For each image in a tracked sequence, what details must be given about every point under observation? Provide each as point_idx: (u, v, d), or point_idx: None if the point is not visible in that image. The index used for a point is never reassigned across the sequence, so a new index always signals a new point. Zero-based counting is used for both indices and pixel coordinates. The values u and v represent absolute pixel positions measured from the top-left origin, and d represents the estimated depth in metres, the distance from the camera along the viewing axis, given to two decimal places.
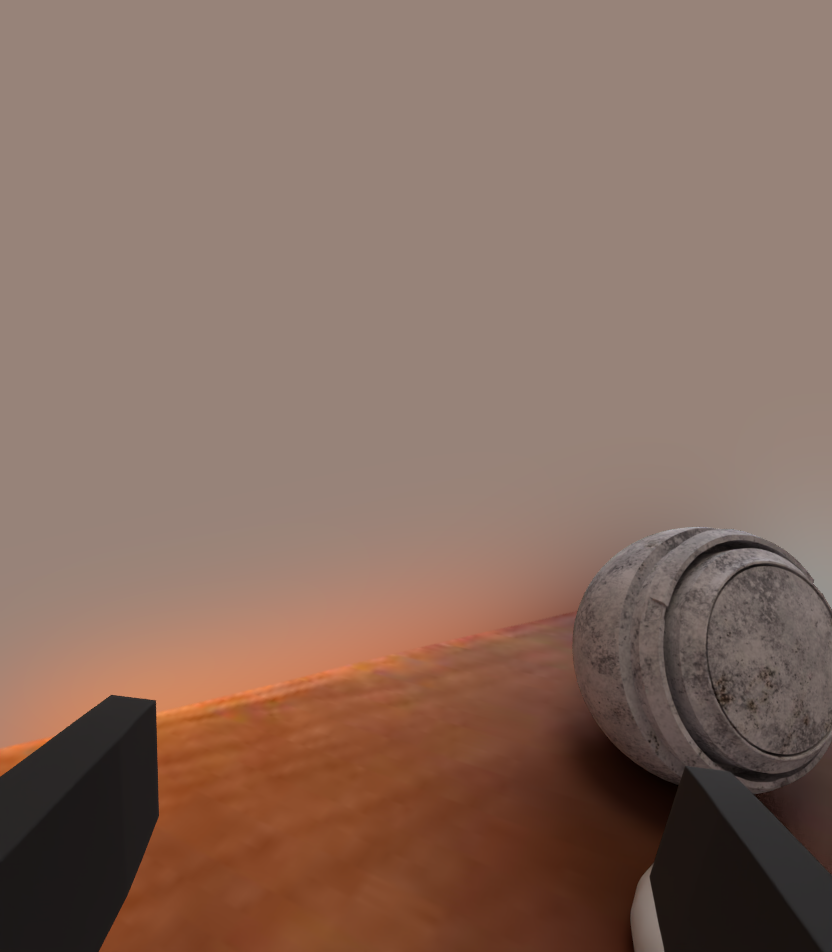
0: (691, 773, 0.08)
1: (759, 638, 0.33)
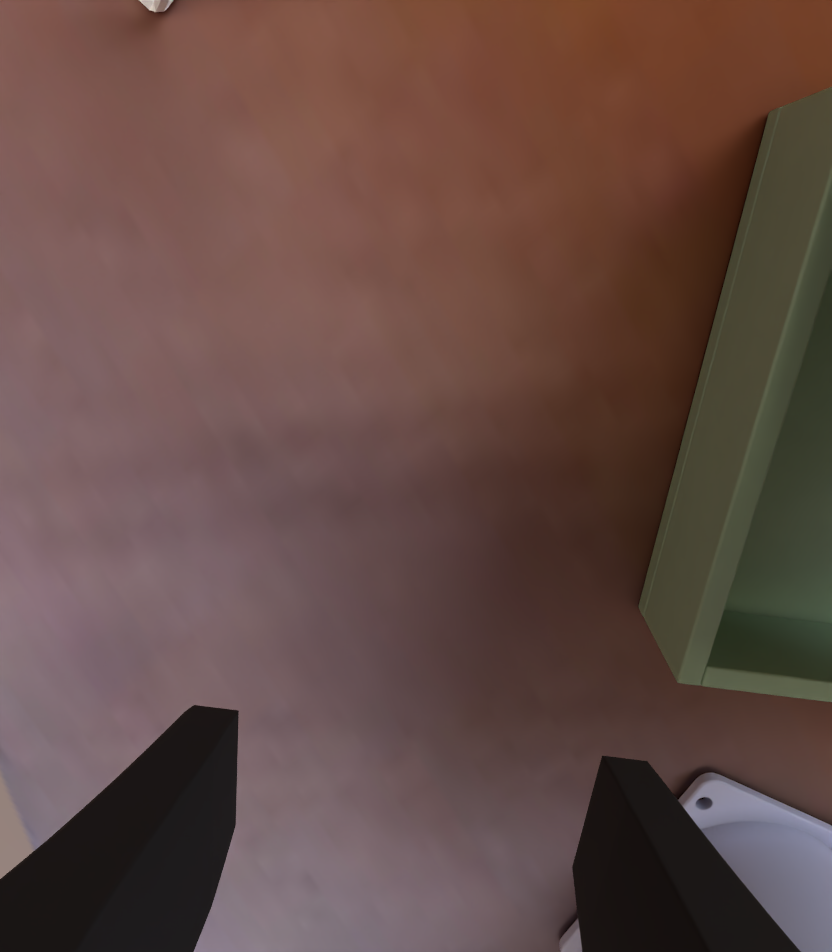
0: (606, 762, 0.08)
1: None
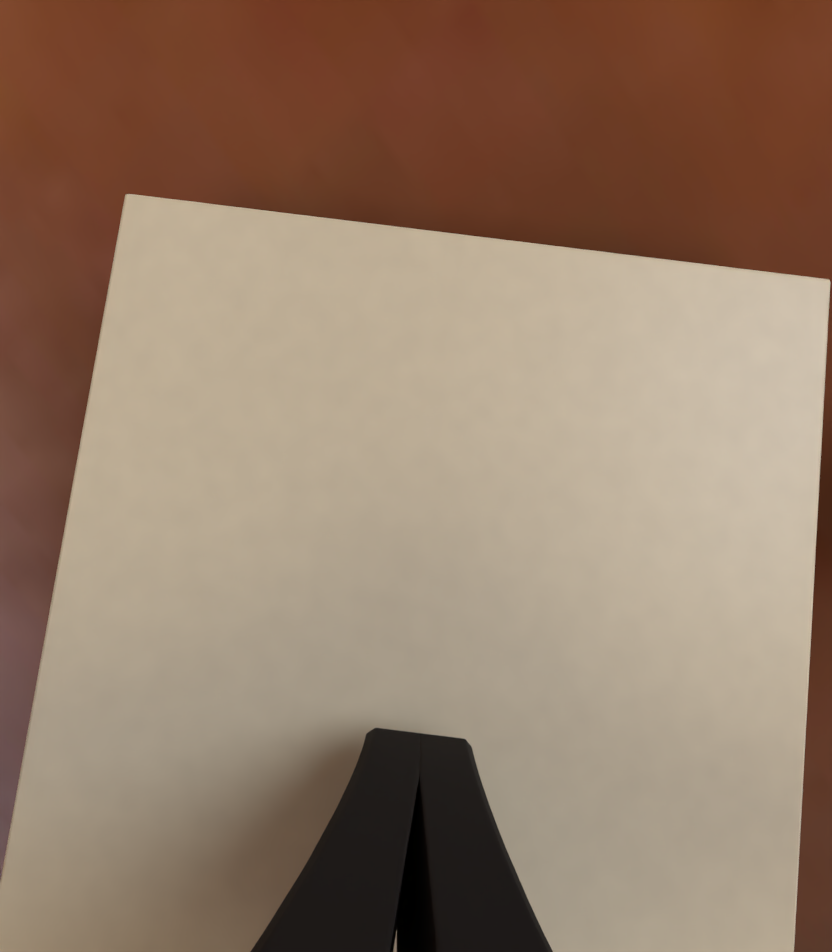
0: (420, 739, 0.08)
1: None
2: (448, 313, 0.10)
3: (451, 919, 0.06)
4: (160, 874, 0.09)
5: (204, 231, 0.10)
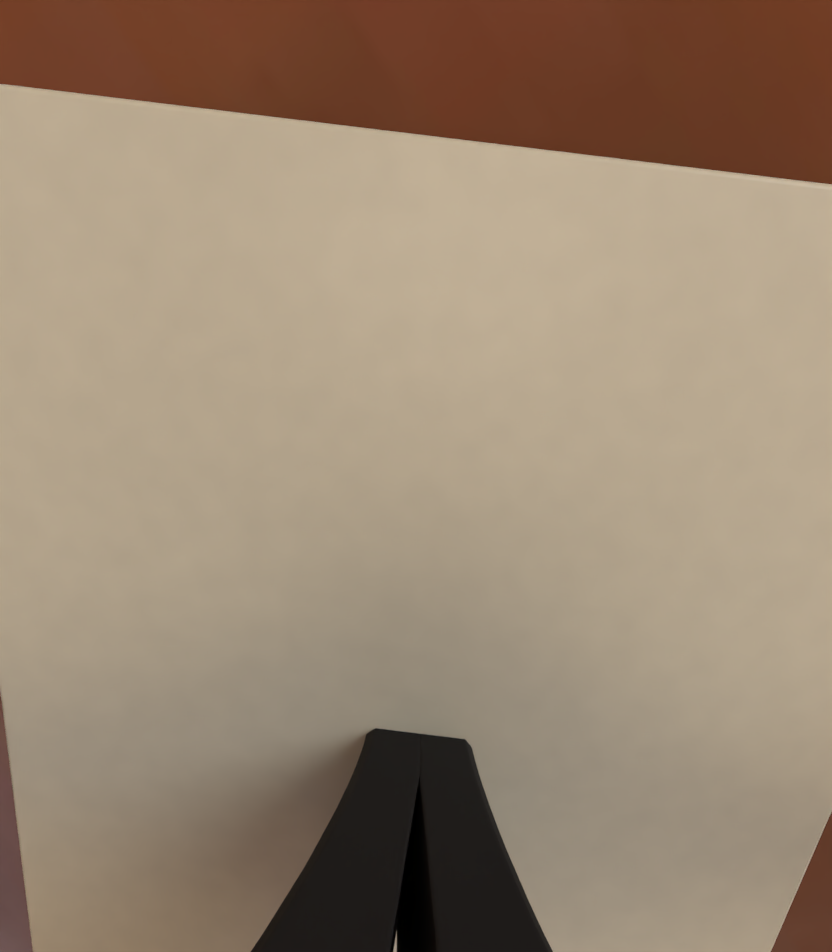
0: (419, 739, 0.08)
1: None
2: (455, 285, 0.07)
3: (451, 919, 0.06)
4: (168, 865, 0.10)
5: (64, 147, 0.06)
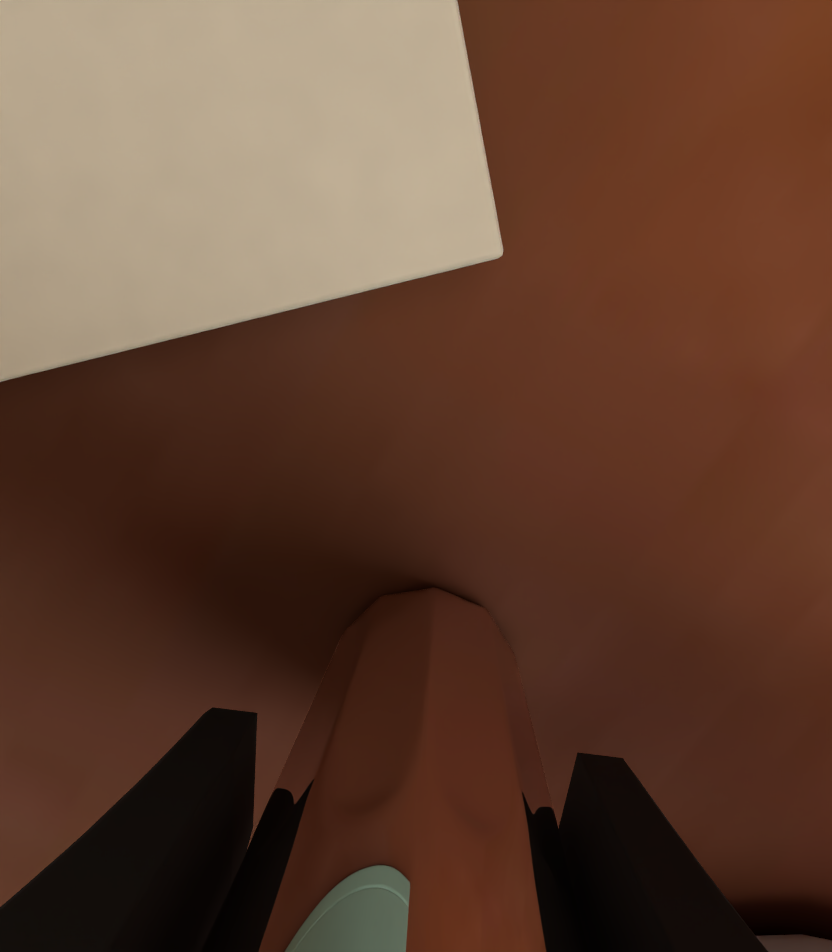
0: (581, 759, 0.08)
1: None
2: None
3: (688, 948, 0.06)
4: None
5: None
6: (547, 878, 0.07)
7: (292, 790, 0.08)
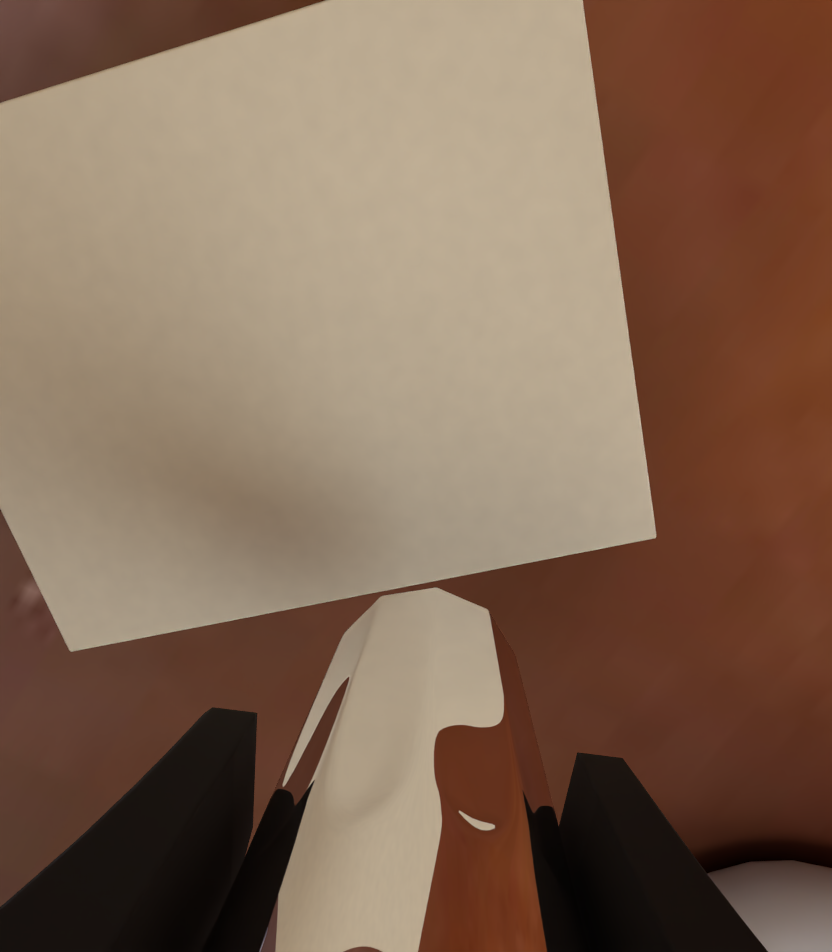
0: (581, 759, 0.08)
1: None
2: (548, 276, 0.12)
3: (688, 948, 0.06)
4: (71, 223, 0.13)
5: (556, 25, 0.11)
6: (548, 878, 0.07)
7: (293, 790, 0.08)
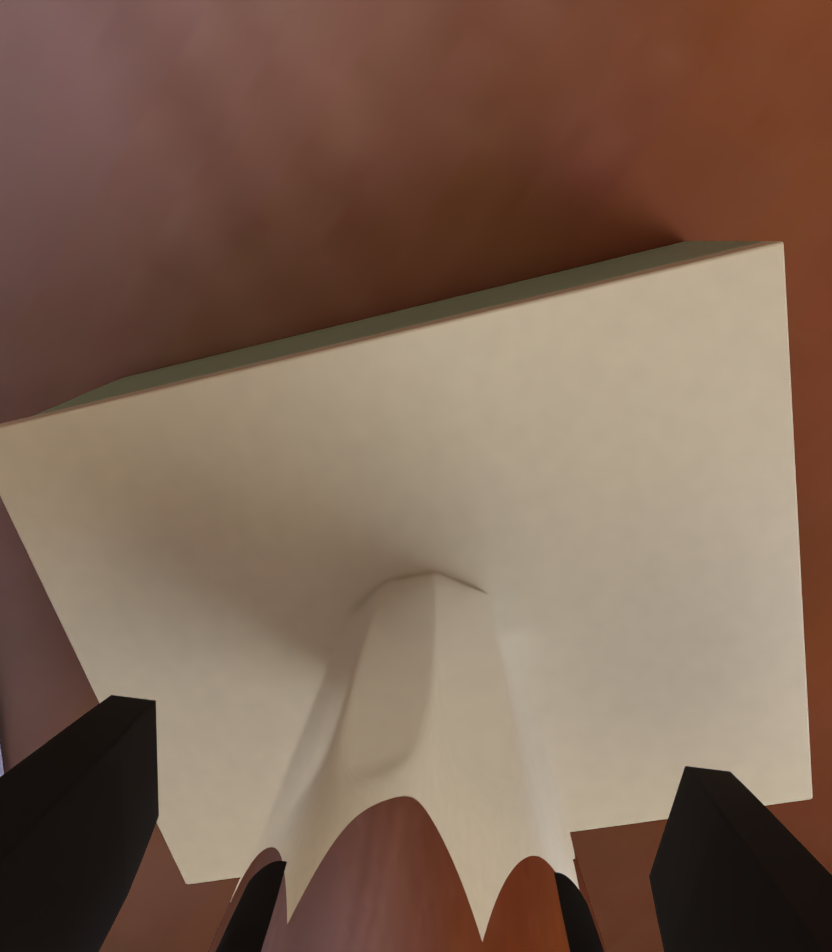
0: (691, 773, 0.08)
1: None
2: (724, 561, 0.12)
3: None
4: (223, 501, 0.12)
5: (757, 335, 0.10)
6: (551, 833, 0.07)
7: (308, 760, 0.08)
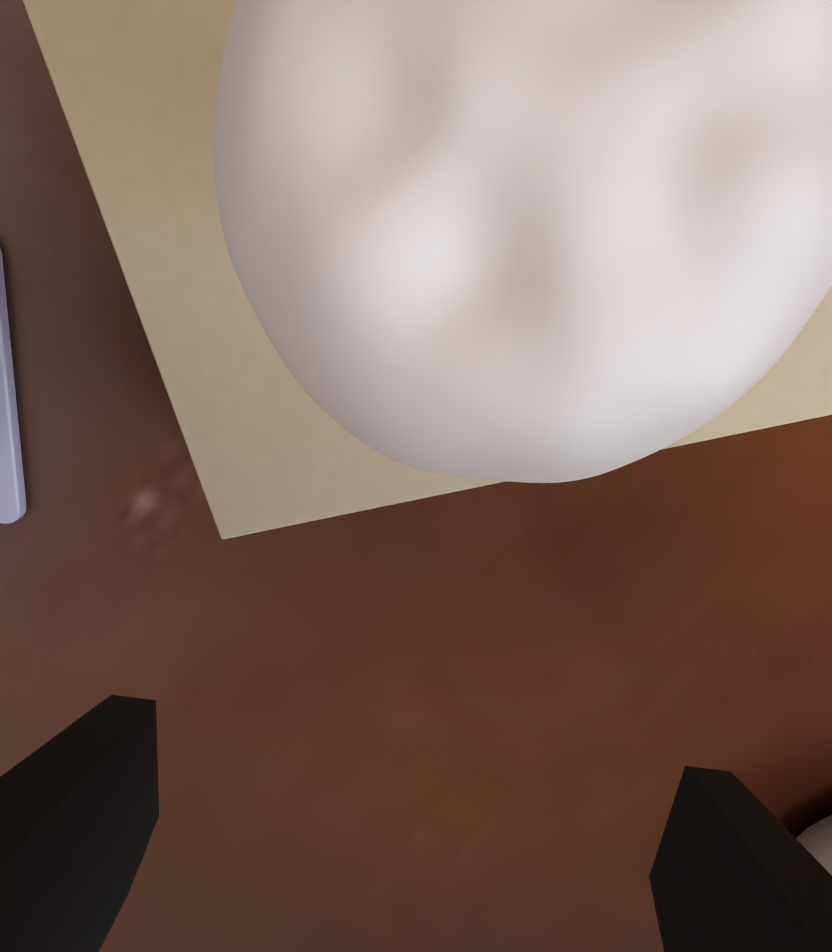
0: (691, 773, 0.08)
1: None
2: None
3: None
4: None
5: None
6: None
7: None
